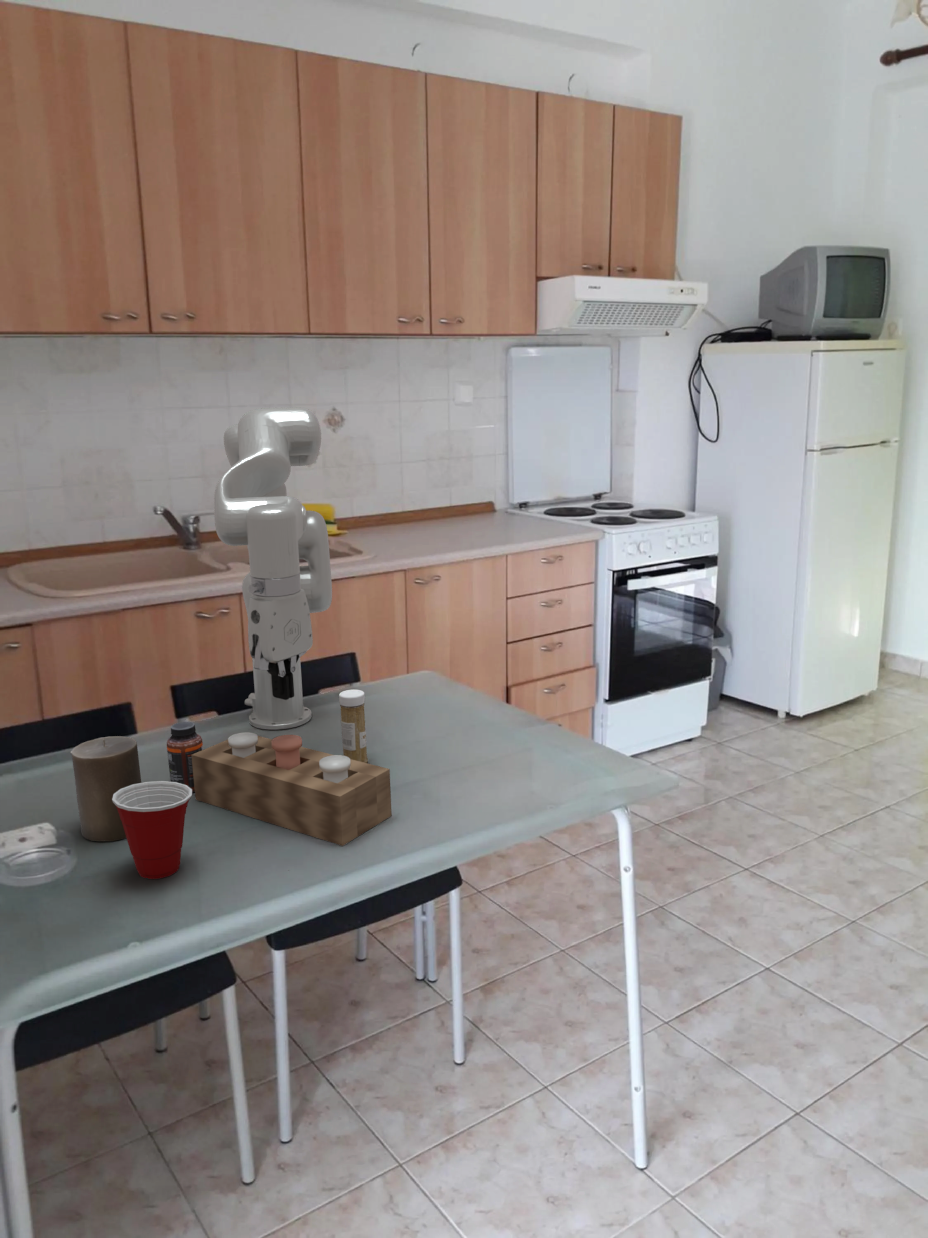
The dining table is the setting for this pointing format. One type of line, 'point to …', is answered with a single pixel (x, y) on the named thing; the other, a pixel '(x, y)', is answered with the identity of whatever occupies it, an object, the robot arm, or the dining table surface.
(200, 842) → the dining table surface
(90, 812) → the pillar candle
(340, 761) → the grey plug
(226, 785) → the socket board
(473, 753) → the dining table surface
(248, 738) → the grey plug
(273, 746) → the brick plug
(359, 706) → the sprinkles bottle
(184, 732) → the supplement bottle
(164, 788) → the plastic cup
